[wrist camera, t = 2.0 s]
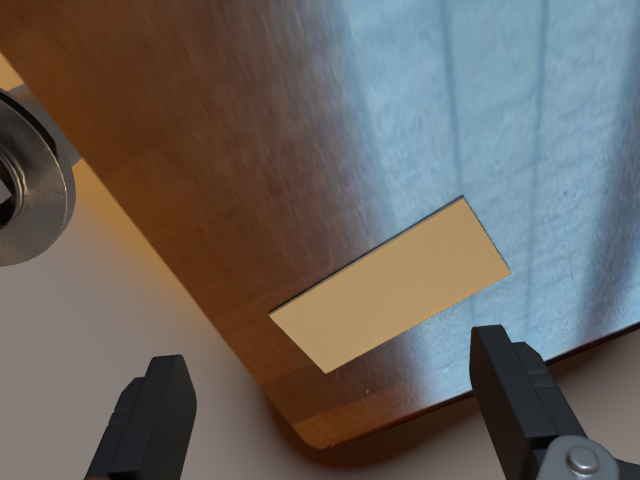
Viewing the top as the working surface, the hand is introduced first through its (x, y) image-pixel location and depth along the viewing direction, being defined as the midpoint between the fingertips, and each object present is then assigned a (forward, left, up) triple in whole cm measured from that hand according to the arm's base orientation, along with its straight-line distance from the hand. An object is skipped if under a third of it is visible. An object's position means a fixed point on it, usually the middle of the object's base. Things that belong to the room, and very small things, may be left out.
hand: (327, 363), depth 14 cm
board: (-5, -17, -26) cm, 31 cm away
